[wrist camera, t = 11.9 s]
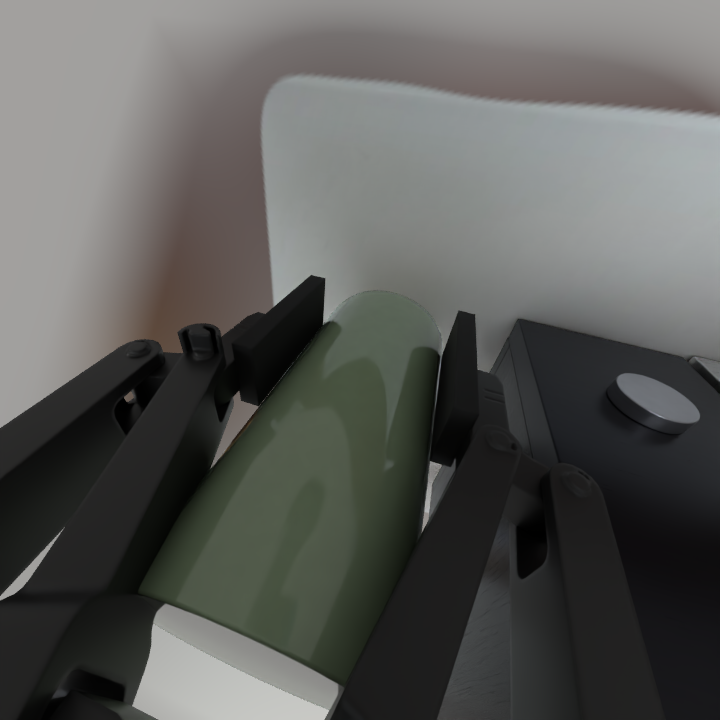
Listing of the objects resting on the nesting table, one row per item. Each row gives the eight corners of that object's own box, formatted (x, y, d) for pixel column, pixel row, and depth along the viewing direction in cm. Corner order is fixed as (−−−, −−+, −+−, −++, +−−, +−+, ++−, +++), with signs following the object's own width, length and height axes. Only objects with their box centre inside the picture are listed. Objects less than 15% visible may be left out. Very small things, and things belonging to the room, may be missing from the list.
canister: (329, 277, 16) (54, 552, 5) (459, 306, 15) (438, 722, 4) (325, 375, 21) (166, 636, 10) (426, 403, 19) (374, 733, 9)
